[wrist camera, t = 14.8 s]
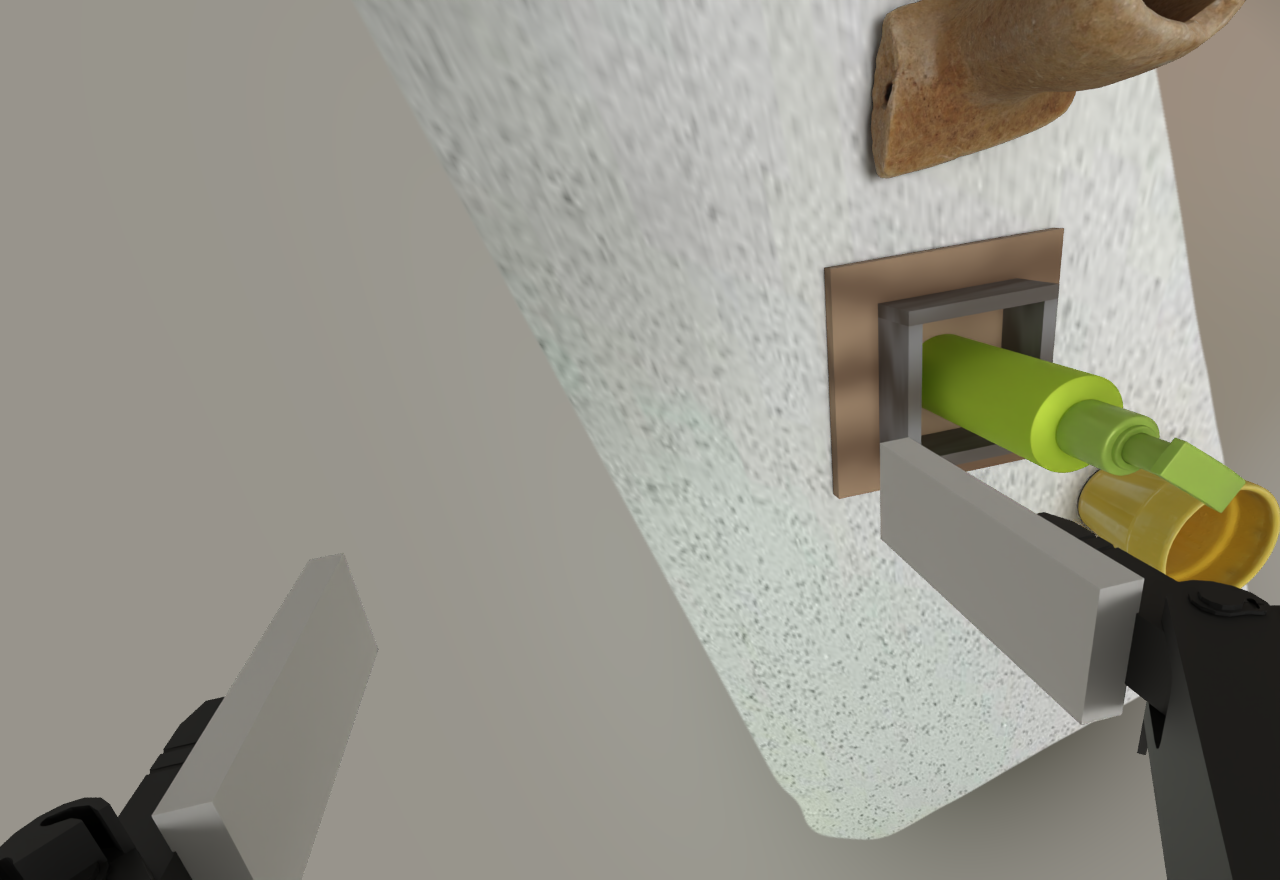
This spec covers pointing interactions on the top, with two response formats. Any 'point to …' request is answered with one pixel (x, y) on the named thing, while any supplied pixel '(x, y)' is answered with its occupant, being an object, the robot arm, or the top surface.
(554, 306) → the top surface
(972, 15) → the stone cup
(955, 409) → the soap dispenser
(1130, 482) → the plant pot
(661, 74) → the top surface
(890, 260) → the dispenser stand
